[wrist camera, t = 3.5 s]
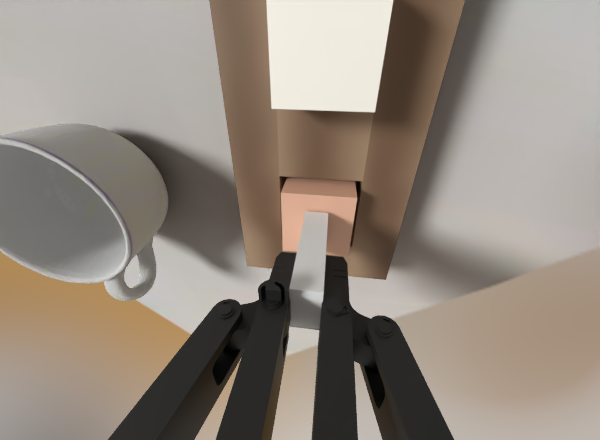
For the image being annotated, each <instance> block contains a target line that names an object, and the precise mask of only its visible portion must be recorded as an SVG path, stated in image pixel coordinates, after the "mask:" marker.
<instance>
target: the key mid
mask: <svg viewBox="0 0 600 440" xmlns="http://www.w3.org/2000/svg"><path fill="white" fill-rule="evenodd" d="M266 4H267V25H268V46H269V67H270V87H271V108H272V109H292V110H321V111H349V112H375V109H376V103H377V97H378V91H379V85H380V79H381V73H382V67H383V61H384V55H385V48H386V42H387V36H388V30H389V24H390V18H391V12H392V6H393V0H266Z"/></svg>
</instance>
